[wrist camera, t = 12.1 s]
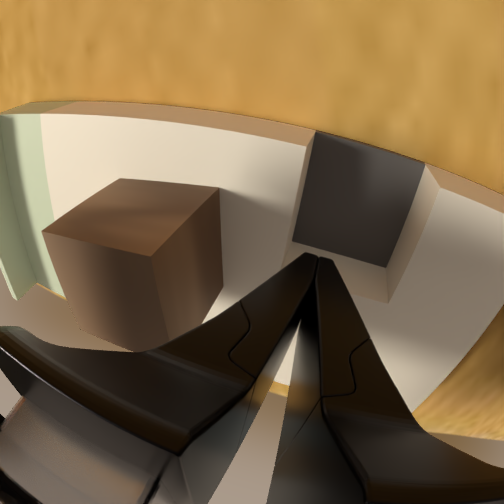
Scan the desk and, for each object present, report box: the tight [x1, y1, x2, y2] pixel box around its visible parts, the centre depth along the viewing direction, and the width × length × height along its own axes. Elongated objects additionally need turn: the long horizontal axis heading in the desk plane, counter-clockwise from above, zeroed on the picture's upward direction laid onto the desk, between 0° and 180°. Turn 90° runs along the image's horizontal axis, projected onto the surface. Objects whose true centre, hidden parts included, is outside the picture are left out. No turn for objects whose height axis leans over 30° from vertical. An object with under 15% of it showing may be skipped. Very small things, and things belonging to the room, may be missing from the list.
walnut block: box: [41, 178, 224, 352], centre depth 10 cm, size 4×4×4 cm
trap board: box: [0, 101, 504, 413], centre depth 12 cm, size 24×11×4 cm, turn 83°
